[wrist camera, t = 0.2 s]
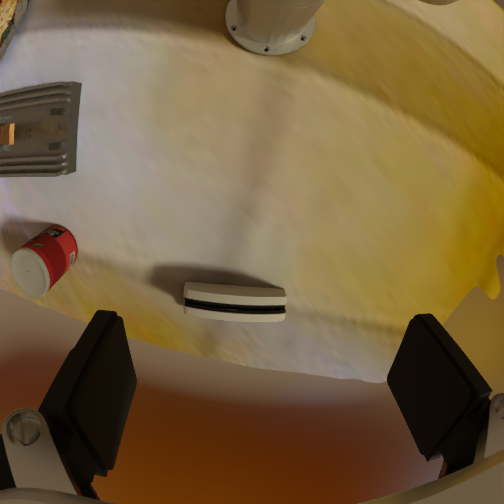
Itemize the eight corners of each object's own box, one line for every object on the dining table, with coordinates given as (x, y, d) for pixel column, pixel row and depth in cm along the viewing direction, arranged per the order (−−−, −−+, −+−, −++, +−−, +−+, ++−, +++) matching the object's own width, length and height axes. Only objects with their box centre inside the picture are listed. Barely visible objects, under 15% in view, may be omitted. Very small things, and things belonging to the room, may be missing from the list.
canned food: (67, 217, 43) (31, 242, 33) (86, 259, 46) (56, 292, 36) (38, 231, 44) (2, 257, 34) (56, 271, 47) (26, 302, 37)
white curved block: (183, 307, 51) (174, 324, 41) (185, 279, 51) (175, 290, 41) (281, 314, 52) (293, 332, 42) (284, 287, 52) (297, 299, 42)
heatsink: (6, 95, 33) (-15, 96, 28) (81, 83, 35) (63, 79, 30) (3, 172, 39) (-17, 179, 34) (76, 171, 40) (57, 178, 35)
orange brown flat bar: (-1, 126, 33) (-4, 127, 32) (14, 123, 27) (9, 123, 26) (-1, 143, 34) (-5, 143, 33) (13, 144, 28) (9, 144, 28)
